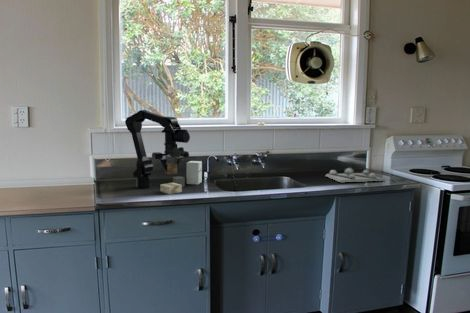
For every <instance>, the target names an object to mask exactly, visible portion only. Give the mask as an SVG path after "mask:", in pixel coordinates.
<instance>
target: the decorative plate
mask: <svg viewBox="0 0 470 313" xmlns="http://www.w3.org/2000/svg"><path fill="white" fill-rule="evenodd" d="M354 170H355V169H352V168H351V167H347V168H345V169H344V172H343V173H338V171H337V170H336V169H331V170H330V171H329V172H328V173H326V174H325V175H324V176H325V177H326V178H327V177H328V179H330V180H332V179H333V181H334V180H335V182H337V183H339V182H340V183H339V184H346V183H345V182H364V183H368V182H367V181H384V182H385V181H386V180H385V178H383V177H379V176H377V174H376V173H373V172H369V170H368V169H364V170H362V172H355V171H354Z"/></svg>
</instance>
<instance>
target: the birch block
mask: <svg viewBox="0 0 470 313" xmlns="http://www.w3.org/2000/svg"><path fill="white" fill-rule="evenodd" d="M159 186H160V193H164V194H167V195H172V194H177V193H182V191H183V187H182V185H180V184H177V183H173V182H168V183H162V184H160V185H159Z"/></svg>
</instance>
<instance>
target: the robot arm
mask: <svg viewBox="0 0 470 313" xmlns="http://www.w3.org/2000/svg"><path fill="white" fill-rule="evenodd" d="M146 120H148V121H151V122H153V123H157V124H159V125H160V126H161V127H163V129H162V130H161V132H160V133H163V134H164V144H163V145H164V152H163V153H162V152H159V151H158V152H154V151H153V152H152V154H151V158H152V159H154V160H159V161H160V162H161V164H162V168H164V173H165V172H167V164H166V163H167V160H168V159H167V157H168V158H169V157H170V158H173V159H174V160H173V161H174V162H173V163H176V164H177V168H179V164H180V162H181V161H182V160H184V158H189V157H190V152H189V151H186V150H185V148H184V147H182V146H181V147H178V143H184V144H187V143H189V141H190V138H191V136H190V133H189V131H188V129H187V128H185V129H183V128H182V126H181V125H180V123H179V122H178V118H177V117H175V116H163V115H161V114H158V113H155V112H151V111H148V110H147V109H140V110H138V111H137V112H135V113H134V114H132V115H130V116H126V119H125V121H124V123H125V126H126V129H127V130H128V131H129V132H130V134H131V137H132V141H133V146H134V149H135V153H136V157H137V161H136V166H135V167H136V169H135V170H134V171H133V173H132V176H133V178H135V188H137V189H139V190H140V189H149V188H151V187H150V185H151V183H150V176H151V175H152V172H153V169H154V168H153V167H154V164H153V160H152V159H151V158H149V157H147V152H146V149H145V145H144V140H143V137H142V132H141V131H142V128H143V125H142V124H143V122H144V121H146Z"/></svg>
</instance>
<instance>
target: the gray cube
mask: <svg viewBox="0 0 470 313" xmlns="http://www.w3.org/2000/svg"><path fill="white" fill-rule="evenodd" d="M185 179H186V178H185V177H184V176H181V175H180V176H172V183H177V184H180V185H182V188H183V187H186V182H185V181H186V180H185Z"/></svg>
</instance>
